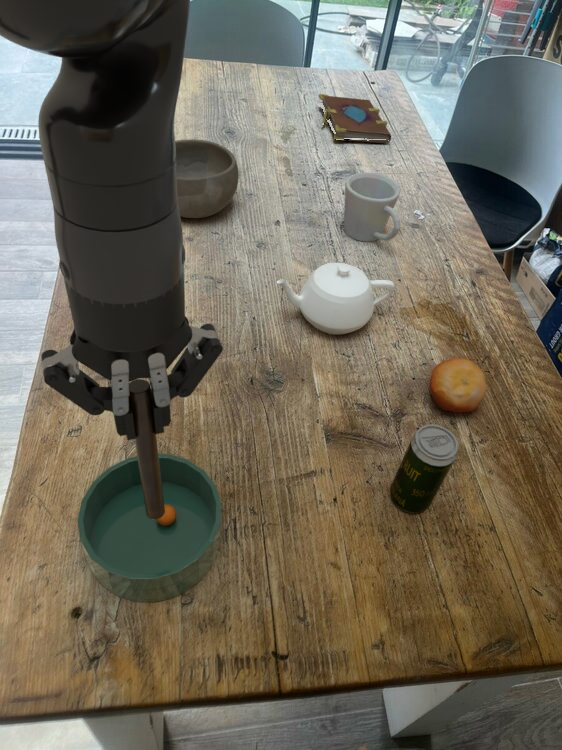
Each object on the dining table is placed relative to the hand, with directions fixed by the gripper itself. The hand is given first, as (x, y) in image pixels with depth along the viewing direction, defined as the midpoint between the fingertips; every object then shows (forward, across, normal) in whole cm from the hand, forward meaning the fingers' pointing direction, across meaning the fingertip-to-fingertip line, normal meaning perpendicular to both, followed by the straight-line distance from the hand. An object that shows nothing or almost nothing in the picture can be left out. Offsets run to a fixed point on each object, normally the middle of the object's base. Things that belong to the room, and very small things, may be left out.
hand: (143, 428), depth 49 cm
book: (+23, -71, -102) cm, 127 cm away
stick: (+11, 0, +2) cm, 11 cm away
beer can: (+23, -32, +2) cm, 40 cm away
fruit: (+23, -46, -11) cm, 53 cm away
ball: (+21, -2, -3) cm, 22 cm away
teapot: (+23, -36, -33) cm, 54 cm away
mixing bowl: (+23, 0, -2) cm, 23 cm away
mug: (+23, -53, -53) cm, 79 cm away
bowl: (+23, -22, -71) cm, 78 cm away
